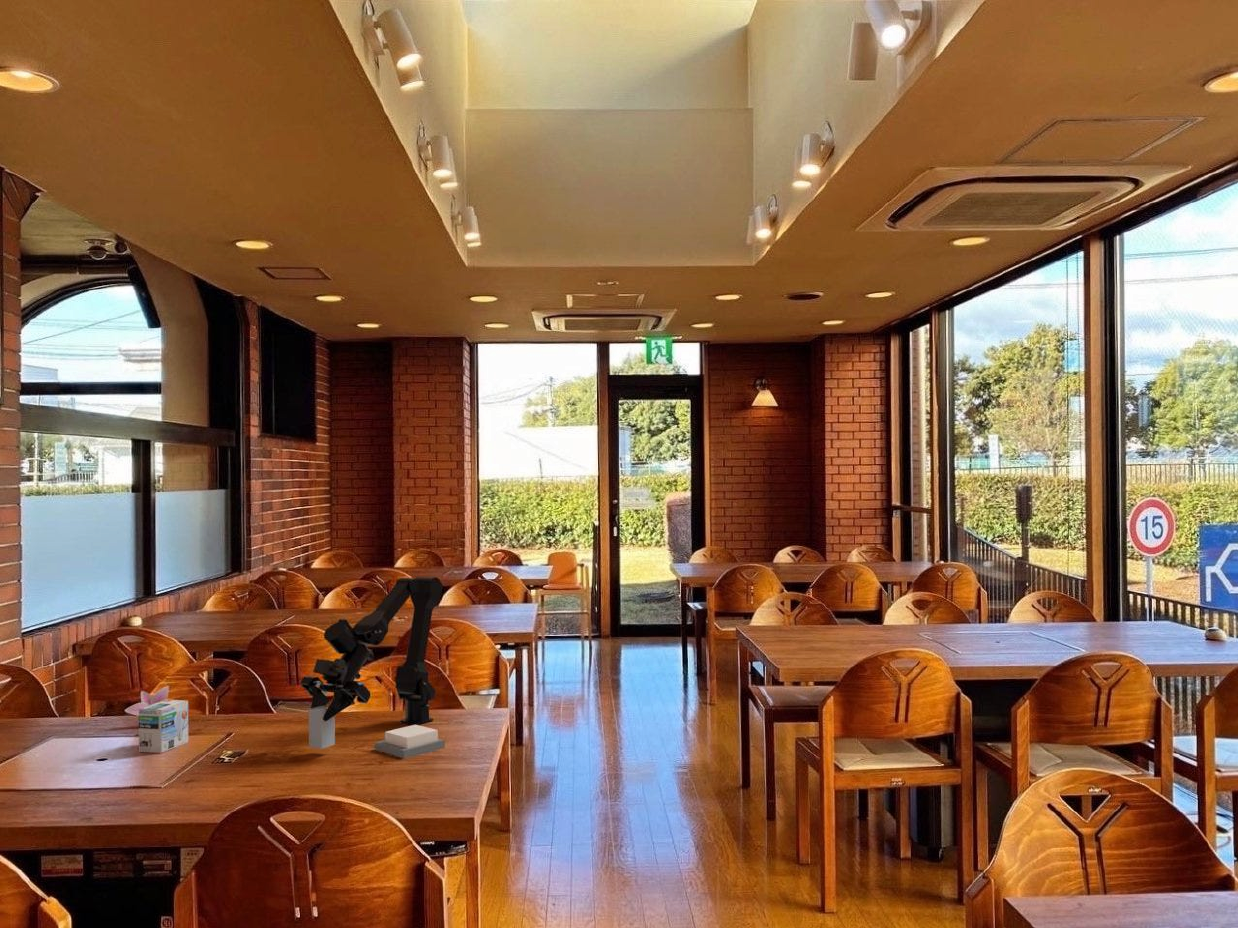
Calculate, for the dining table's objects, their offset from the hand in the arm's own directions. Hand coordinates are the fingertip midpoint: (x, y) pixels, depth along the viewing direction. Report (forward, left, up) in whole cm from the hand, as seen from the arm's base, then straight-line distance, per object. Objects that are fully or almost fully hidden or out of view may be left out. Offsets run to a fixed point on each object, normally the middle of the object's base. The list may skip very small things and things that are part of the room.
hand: (317, 719), depth 229 cm
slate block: (0, +1, -7) cm, 7 cm away
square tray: (+13, +17, -9) cm, 23 cm away
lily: (-64, -12, -9) cm, 65 cm away
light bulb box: (-38, -20, -9) cm, 44 cm away
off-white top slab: (+13, +18, -7) cm, 23 cm away
